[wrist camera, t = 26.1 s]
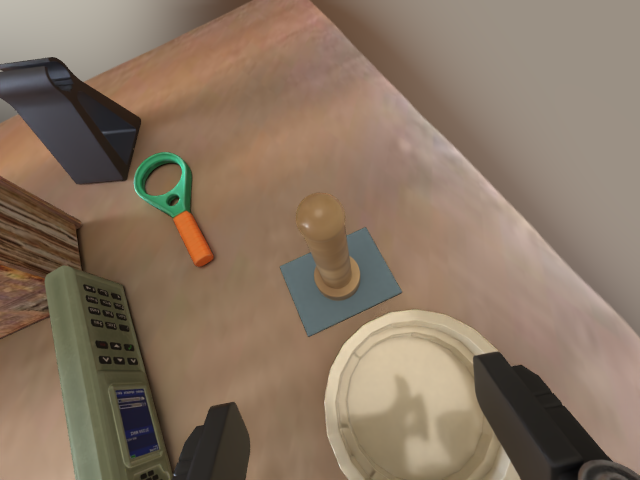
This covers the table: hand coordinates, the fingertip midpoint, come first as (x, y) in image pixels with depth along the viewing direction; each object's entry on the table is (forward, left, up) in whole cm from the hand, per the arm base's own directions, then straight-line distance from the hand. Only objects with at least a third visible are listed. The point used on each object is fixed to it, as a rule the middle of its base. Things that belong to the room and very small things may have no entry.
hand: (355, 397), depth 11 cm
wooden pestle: (-2, -9, -17) cm, 19 cm away
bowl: (-3, +3, -17) cm, 18 cm away
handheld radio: (+18, -5, -18) cm, 26 cm away
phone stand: (+16, -35, -18) cm, 43 cm away
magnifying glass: (+10, -23, -18) cm, 31 cm away
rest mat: (-2, -9, -17) cm, 20 cm away
